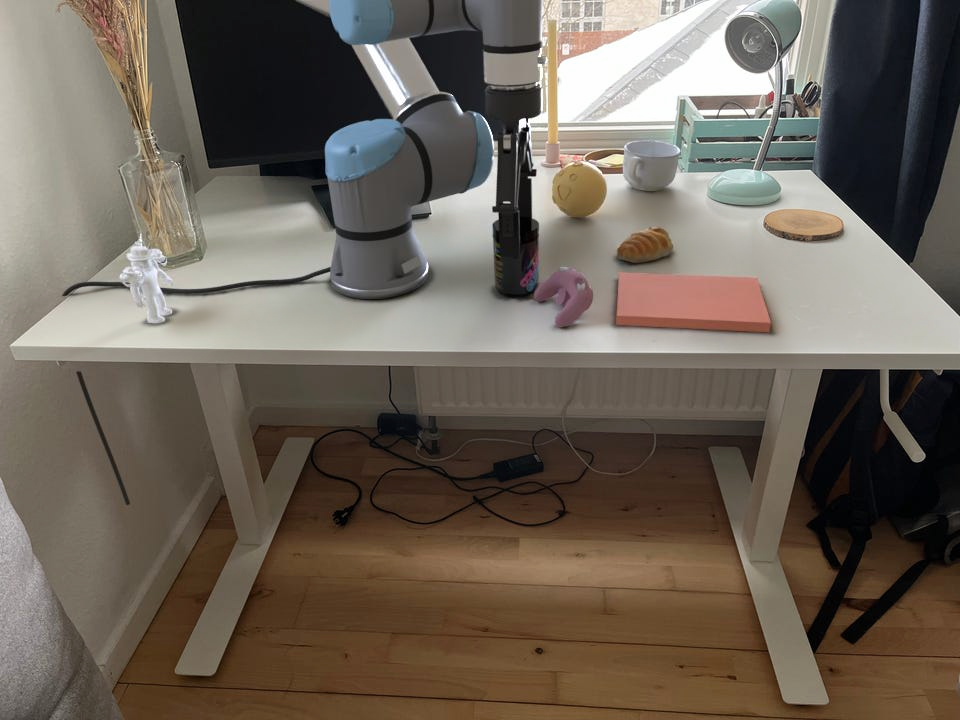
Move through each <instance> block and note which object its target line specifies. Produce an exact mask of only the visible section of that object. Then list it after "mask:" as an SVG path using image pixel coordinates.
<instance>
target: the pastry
mask: <svg viewBox="0 0 960 720" xmlns="http://www.w3.org/2000/svg"><path fill="white" fill-rule="evenodd" d="M674 248H675V246H674V244H673V239H672V238H671V236H670V235H669V232H668V230H666V229H664V228H662V227H661V226H656V227H652V226H649V227H648V228H647V229H644V230H643V229H642V230H640V231H636V232H635V231H634V232H633V233H631V234H630V236H629V237H627V238H626V239H625V240H624V241H623V242H622V243H620V245H619V246H618V247H617V250H616V252H617V259H620V260H623V261H625V262H629V263H634V264H637V263H638V264H641V263H643V262H651V261H656V260H659V259H661V258H662V257H663V258H665V257H667V256H669V255H670V254H671V253H672V252H673V251H674Z"/></svg>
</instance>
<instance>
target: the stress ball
mask: <svg viewBox="0 0 960 720" xmlns="http://www.w3.org/2000/svg"><path fill="white" fill-rule="evenodd" d="M607 185H608V184H607V180H606V178H605V176H604V174H603V173H602V171H601V170H600V169H599V168H598V167H597V166H595V165H594V164H592V163H590V162H588V161H586V160H577V161H574V162H570V163H569V164H567V165H565V166H563V167H562V168H561V169H560V170H559V171H558V172H557V173H555V175H554V177H553V179H552V188H551V194H552V195H551V200H552V201H553V204H555V205H556V207H557V209H559V210H560V211H561V212H562V213H563V214H565V215H566V216H569V217H572V218H585V217H588V216H590V215H593V214H595V213H596V212H597V211H598V210H599V209H600V208H601V207H602V205H603V204H604V202H605V200H606V197H607V191H608V186H607Z"/></svg>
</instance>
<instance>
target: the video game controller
mask: <svg viewBox="0 0 960 720" xmlns="http://www.w3.org/2000/svg"><path fill="white" fill-rule="evenodd" d="M555 295H556V305H558V306H562V309H561V310H560V311H559V312H558V313H557V314H556V316H555V318H554V324H555V326H556V327H558V328H564V327H567V326H570V325H572V324H574V323H575V322H576V321H577V320H578V319H579V318H580V317H581V316H583V314H584V313H585V312H586V311H587V310H589V309H590V307H591V306H592V303H593V301H594V295H595V294H594V290H593V288H592V287H590V283H589V281H588V279H587V278H586V276H585V275H584V274H583V273H582V272H580V270H576V269H574V268H572V267H563V266H560V267H559V269H556V270H554V272H552V274H550V276H549V277H547V279H546V280H544V281H543V282H542V283H541V284H539V287H538V288H537V289H536V291H535V293H534V294H533V299H534V300H535V301H536V302H539V303H541V302H545V301H547V300H549V299H551V298H553V297H554V296H555Z"/></svg>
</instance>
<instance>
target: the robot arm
mask: <svg viewBox="0 0 960 720" xmlns="http://www.w3.org/2000/svg"><path fill="white" fill-rule="evenodd" d="M294 1H296V2H297V3H299V4H302V5H304V6H305V7H307V8H310V9H312V10H314V11H315V12H317V13H320V14H322V15H323V16H325V17H328V18H330V19H331V22H332V25H333V28H334V30H335V33H338V35H339V38H340V39H341V41H343V42H344V43H346V44H348V45H351V48H352V49H353V51H354V53H355V55H356V56H357V58H358V60H359V61H360V64H361V65H362V68H363V69H364V71H365V72H366V74H367V76H368V78H369V79H370V82H371V84H372V85H373V87H374V88H375V91H376V92H377V94H378V97H380V99H381V101H382V103H383V105H384V107H385V108H386V111H387V112H388V114H389V116H390V117H391V119H390V118H376V119H373V120H363V121H358V122H355V123H352V124H349V125H347V126H344V127H342V128H339V130H337V131H335V132H334V133H332V134H331V135H330V137H329V138H328V140H326V142H325V144H324V145H325V146H324V156H325V157H324V158H325V159H324V160H325V168H324V169H325V176H326V177H327V183H328V189H329V196H330V203H331V209H332V215H333V221H334V222H333V223H334V228H335V242H334V248H333V253H332V258H331V264H330V266H328V267H325V268H322V269H319V270H316V271H313V272H311V273H308V274H306V275H303V276H298V277H293V278H283V279H281V278H280V279H260V280H259V279H258V280H249V281H243V282H236V283H231V284H225V285H220V286H219V285H218V286H212V287H205V288H174V287H173V288H172V287H171V288H170V287H161V286H159V287H160V289H161V291H162V293H164V294H165V293H166V294H177V295H178V294H179V295H189V294H191V295H192V294H194V295H195V294H197V295H198V294H208V293H217V292H222V291H227V290H233V289H238V288H239V289H240V288H245V287H253V286H267V285H270V286H271V285H288V284H296V283H302V282H305V281H307V280H311V279H312V278H315V277H319V276H321V275H324V274H327V273H329V276H330V281H331V286H332V288H333V289H334V290H335V291H336V292H337V293H339V294H341V295H343V296H346V297H348V298H355V299H359V300H360V299H362V300H379V299H388V298H389V299H390V298H394V297H397V296H401V295H405V294H407V293H410V292H412V291H415V290H416V289H418V288H420V287H421V286H423V285H424V284H425V283H426V282H427V280H428V278H429V264H428V261H427V258H426V255H425V253H424V251H423V248H422V246H421V244H420V242H419V240H418V237H417V236H416V232H415V231H414V226H413V216H412V207H414V206H418V205H423V204H426V203H428V202H433V201H435V200H439V199H443V198H447V197H451V196H454V195H458V194H460V195H461V194H465V193H467V192H468V191H470V190H473V189H475V188H478V187H480V186H482V185H483V184H484V183H485V182H486V181H487V180H488V179H489V177H490V174H491V172H492V170H493V166H494V160H495V159H494V158H495V157H494V154H495V145H494V138H493V134H492V131H491V128H490V125H489V124H488V122H487V120H486V119H485V117H483V115H482V114H481V113H479V112H475V111H472V110H467V111H465V112H464V111H462V109H461V108H460V106H459V104H458V102H457V100H456V98H455V96H454V95H452V94H451V93H449V92H446V91H440V90H439V88H438V86H437V85H436V83H435V81H434V79H433V78H432V76H431V75H430V73H429V71H428V69H427V67H426V65H425V63H424V62H423V60H422V59H421V56H420V55H419V53H418V51H417V50H416V48H415V46H414V45H413V43H412V41H411V38H417V37H423V36H430V35H436V34H444V33H450V32H451V33H452V32H458V31H473V32H481V33H482V57H483V58H482V62H483V82H484V83H485V84H486V85H487V86H486V88H485V89H484V99H485V100H484V101H485V102H484V105H485V114H486V116H487V117H489V118H490V119H492V120H499V121H501V122H502V126H501V127H500V131H498V134H497V136H496V141H497V161H496V165H497V166H496V186H495V187H496V188H495V189H496V190H495V205H492V207H491V211H492V213H497V214H498V216H497V217H498V219H499V244H500V257H520V219H519V216H522V217H529V218H532V219H533V178H536V177H537V168H533V167H534V160H533V149H532V137H531V135H532V128H531V121H530V119H534V118H537V117H539V116H540V115H541V114H542V113H543V87H542V86H541V84H540V81H542V79H543V66H542V65H546V64H547V63H548V59H547V56H544V55H541V54H542V52H543V51H542V50H543V49H542V47H543V0H294ZM130 283H131V282H127V281H126V283H125V284H127V285H128V284H130ZM85 287H123V288H128V287H127V286H125V285H124V284H123V283H122V282H121V281H82V282H77V283H74V284H73V285H71V286H69V287H68V288H66V289H65V291H64V292H63V293H62V295H61V297H68V296H69V295H70V294H71V293H72V292H73V291H76V290H78V289H80V288H85ZM75 373H76V376H77V379H78V382H79V385H80V387H81V390H82V393H83V396H84V399H85V402H86V404H87V407H88V409H89V411H90V415H91V417H92V420H93V423H94V425H95V427H96V429H97V432H98V435H99V437H100V440H101V443H102V445H103V447H104V450H105V453H106V455H107V457H108V460H109V463H110V466H111V468H112V471H113V473H114V475H115V479H116V481H117V483H118V486H119V489H120V492H121V494H122V498H123V499H124V503H125V505H126V506H129V505H130V504H131V502H130V499H129V496H128V493H127V490H126V488H125V485H124V481H123V480H122V477H121V474H120V471H119V469H118V466H117V464H116V460H115V458H114V455H113V454H112V453H113V452H112V451H111V448H110V445H109V443H108V440H107V438H106V436H105V433H104V431H103V428H102V424H101V423H100V421H99V418H98V414H97V413H96V410H95V407H94V404H93V402H92V399H91V396H90V394H89V390H88V388H87V385H86V383H85V380H84V375H83V373H82V371H75Z"/></svg>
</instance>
